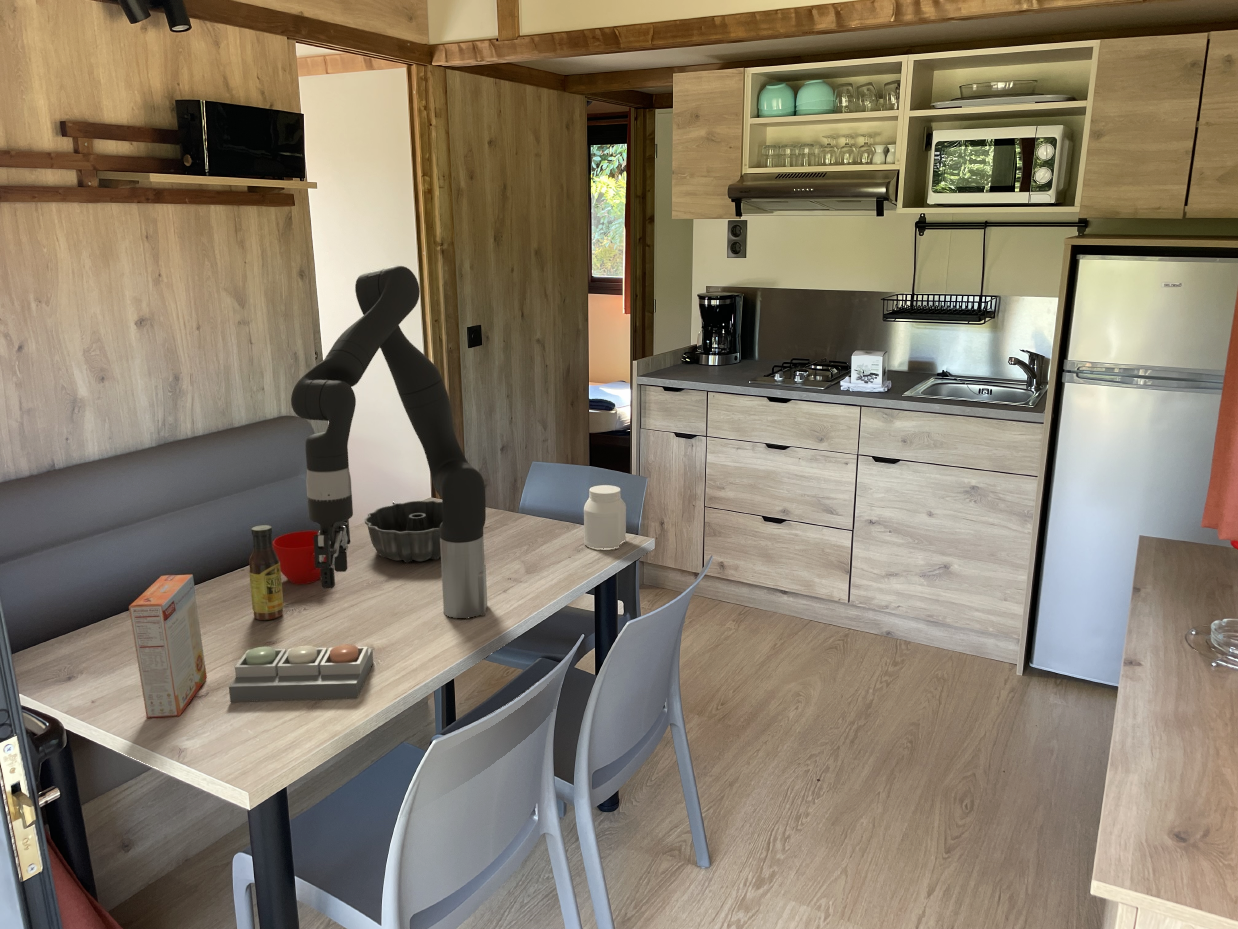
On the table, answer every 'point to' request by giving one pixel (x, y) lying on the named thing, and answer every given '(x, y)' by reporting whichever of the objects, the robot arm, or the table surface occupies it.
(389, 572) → the table surface
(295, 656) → the cream button
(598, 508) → the jar
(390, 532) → the bundt pan
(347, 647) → the terracotta button
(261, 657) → the sage button
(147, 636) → the cracker box
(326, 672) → the button panel
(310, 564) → the ceramic cup
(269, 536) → the sauce bottle
